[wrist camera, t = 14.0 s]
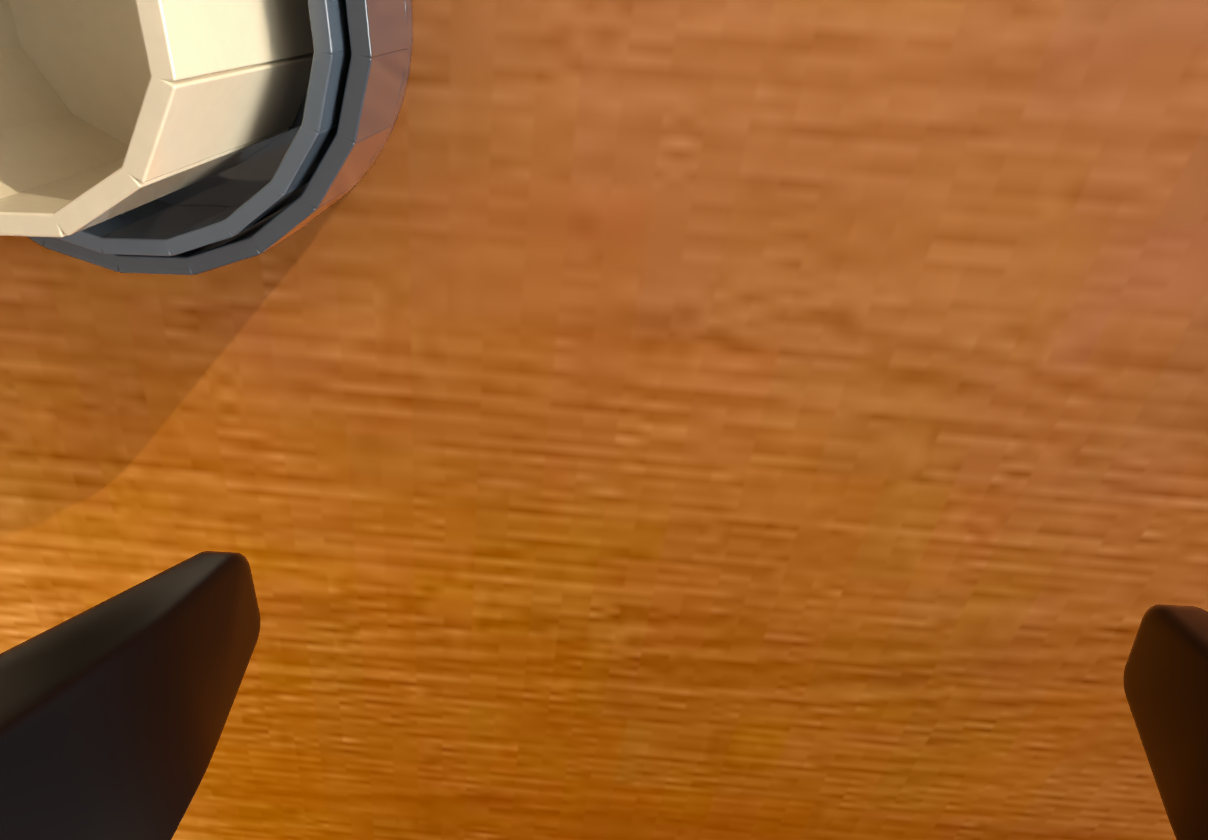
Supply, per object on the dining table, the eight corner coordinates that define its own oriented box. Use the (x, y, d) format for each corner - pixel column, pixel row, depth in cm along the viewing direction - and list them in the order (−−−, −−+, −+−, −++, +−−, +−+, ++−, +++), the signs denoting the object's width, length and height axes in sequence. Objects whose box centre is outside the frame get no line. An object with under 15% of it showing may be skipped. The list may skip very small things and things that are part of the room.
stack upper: (406, 219, 21) (357, 262, 18) (34, 209, 21) (-77, 249, 18) (362, -263, 17) (287, -319, 14) (-95, -259, 17) (-267, -311, 14)
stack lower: (431, 243, 21) (394, 282, 18) (19, 231, 22) (-75, 266, 19) (388, -300, 16) (330, -355, 14) (-133, -294, 17) (-284, -345, 14)
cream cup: (336, 170, 20) (207, 242, 14) (52, 163, 20) (-175, 231, 15) (292, -185, 17) (109, -262, 11) (-39, -184, 17) (-365, -258, 12)
